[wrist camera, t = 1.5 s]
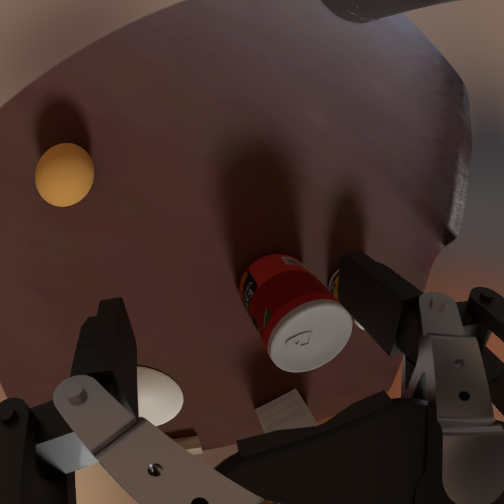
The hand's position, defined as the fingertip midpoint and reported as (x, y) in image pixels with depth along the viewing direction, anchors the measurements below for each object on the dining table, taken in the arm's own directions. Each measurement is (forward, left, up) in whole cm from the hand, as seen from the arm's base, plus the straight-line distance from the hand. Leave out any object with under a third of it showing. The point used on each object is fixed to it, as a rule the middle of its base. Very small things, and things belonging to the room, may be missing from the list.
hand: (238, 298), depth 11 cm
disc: (+27, -11, -21) cm, 35 cm away
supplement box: (+36, +10, -21) cm, 43 cm away
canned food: (+12, +8, -21) cm, 25 cm away
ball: (-3, -11, -18) cm, 21 cm away
